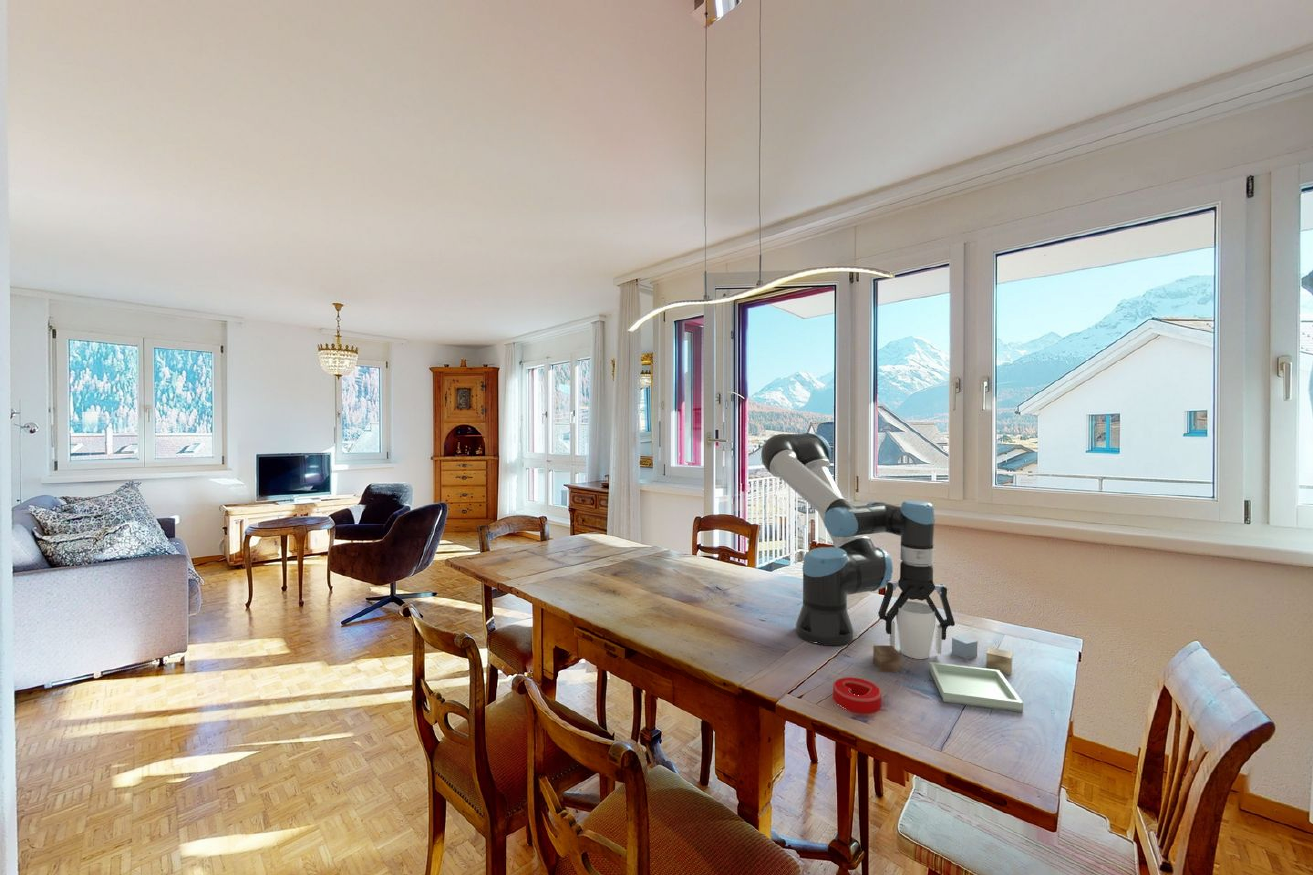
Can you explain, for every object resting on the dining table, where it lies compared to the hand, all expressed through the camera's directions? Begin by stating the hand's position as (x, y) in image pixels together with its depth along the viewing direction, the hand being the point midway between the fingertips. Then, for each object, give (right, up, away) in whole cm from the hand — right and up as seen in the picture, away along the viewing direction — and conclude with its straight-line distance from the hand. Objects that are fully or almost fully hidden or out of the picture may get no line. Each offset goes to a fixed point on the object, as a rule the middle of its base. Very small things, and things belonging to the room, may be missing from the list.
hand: (914, 648), depth 136 cm
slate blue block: (+12, -1, 0) cm, 12 cm away
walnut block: (-11, -2, -7) cm, 13 cm away
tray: (+4, -2, -18) cm, 18 cm away
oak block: (+16, -2, -8) cm, 18 cm away
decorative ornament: (-23, -3, -22) cm, 32 cm away
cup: (0, -1, 0) cm, 1 cm away
